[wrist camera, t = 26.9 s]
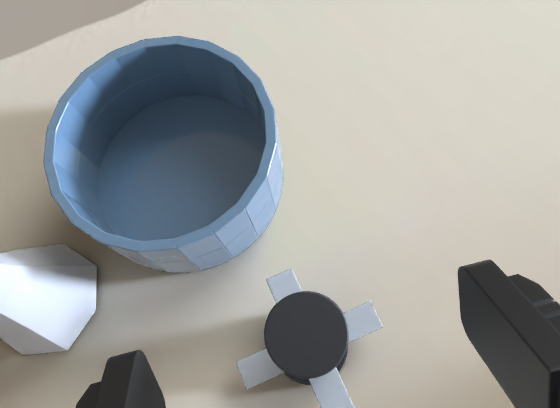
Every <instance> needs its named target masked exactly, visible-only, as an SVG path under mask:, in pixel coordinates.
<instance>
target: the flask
mask: <svg viewBox="0 0 560 408" xmlns="http://www.w3.org/2000/svg"><path fill="white" fill-rule="evenodd" d="M96 284H97V266H96V265H95V264H93V263H92V262H90V261H89V260H87V259H86V258H84V257H83V256H81V255H80V254H78V253H77V252H75V251H74V250H72V249H71V248H69V247H67V246H66V245H64V244H60V245H51V246H42V247H32V248H23V249H16V250H11V251H6V252H2V253H0V339H2V340H3V341H4V342H6V343H7V344H8V345H10V346H11V347H12V348H14V349H15V350H16V351H18V352H19V353H20V354H22V355H30V354H40V353H50V352H60V351H68V350H69V348H70V347H71V345H72V344H73V342H74V341H75V340H76V338H77V337H78V335H79V334H80V332H81V331H82V330H83V328H84V327H85V325H86V324H87V322H88V321H89V320H90V318H91V317H92V315H93V314H94V312H95V311H96Z"/></svg>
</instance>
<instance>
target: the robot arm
mask: <svg viewBox="0 0 560 408" xmlns="http://www.w3.org/2000/svg"><path fill="white" fill-rule="evenodd" d="M458 284H459V298H460V312H461V320H462V323H463V327H464V329H465V332H466V334H467V336H468V338H469V340H470V341H471V343H472V344H473V346H474V347H475V349H476V350H477V352H478V353H479V355H480V356H481V358H482V359H483V361H484V362H485V364H486V365H487V366H488V368H489V369H490V371H491V372H492V374H493V375H494V377H495V378H496V380H497V381H498V383H499V384H500V386H501V387H502V389H503V390H504V392H505V393H506V394H507V396H508V397H509V399H510V400H511V402H512V403H513V405H514V406H515V408H560V305H559V304H558V303H557V302H554V299H553V298H552V297H551V296H550V295H549V294H548V293H547V292H546V291H545V290H544V289H543V288H542V287H541V286H540V285H539V284H537V283H535V282H533V281H531V280H529V279H527V278H525V277H523V276H521V275H519V274H516V275H513V276H509V277H507V276H506V275H505V274H504V272H503V271H502V270H501V269H500V268H499V267H498V266H497V265H496V264H495V263H494V262H493V261H492V260H485V261H481V262H477V263H473V264H470V265H466V266H462V267H459V269H458ZM76 408H166V406H165V401H164V397H163V394H162V391H161V389H160V387H159V385H158V382H157V380H156V378H155V376H154V374H153V372H152V369H151V367H150V365H149V363H148V361H147V359H146V356H145V355H144V353H143V352H142V351H141V350H136V351H132V352H128V353H124V354H120V355H117V356H113V357H110V358H109V359H108V360H107V363H106V366H105V370H104V373H103V377H102V381H101V382H98V383H94V384H91V385H90V386H89V388H88V389H87V390H86V392H85V393H84V394H83V396H82V397H81V399H80V400H79V401H78V403H77V405H76Z"/></svg>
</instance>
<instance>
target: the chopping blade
mask: <svg viewBox="0 0 560 408" xmlns="http://www.w3.org/2000/svg"><path fill="white" fill-rule="evenodd" d="M267 283H268V285H269V287H270V290H271V292H272V294H273V297H274V299H275V301H276V305H275V306H274V307H273V308H272V310H271V311H270V313H269V315H268V317H267V320H266V323H265V329H264V340H265V346H266V349H264V350H261V351H259V352H257V353H255V354H253V355H250V356H248V357H246V358H244V359H242V360H239V361H237V362H236V363H237V365H238V368H239V371H240V373H241V376H242V378H243V381H244V384H245V386H246V389H250V388H252V387H254V386H256V385H258V384H261V383H263V382H265V381H267V380H269V379H271V378H274V377H276V376H278V375H280V374H282V373H284V374H285V375H286V376H287V377H289V378H290V379H292V380H293V381H295V382H298V383H301V384H305V385H311V386H312V388H313V390H314V393H315V395H316V397H317V400H318V402H319V404H320V407H321V408H354V406H353V404H352V401H351V399H350V397H349V395H348V392H347V390H346V388H345V386H344V384H343V381H342V379H341V377H340V375H339V371H340V370H341V368H342V367H343V365H344V363H345V360H346V357H347V351H348V343H350V342H352V341H354V340H356V339H358V338H360V337H363V336H365V335H367V334H369V333H371V332H373V331H376V330H378V329H380V328H382V327H383V325H382V323H381V321H380V319H379V317H378V315H377V313H376V311H375V309H374V307H373V305H372V303H371V301H369V302H367V303H364V304H362V305H360V306H358V307H356V308H353V309H351V310H349V311H347V312H345V313H343V312H342V311H341V309H340V308H339V307H338V305H337V304H336V303H335V302H333V301H332V300H331V299H330V298H328V297H326V296H324V295H322V294H320V293H316V292H310V291H302V290H301V288H300V286H299V283H298V281H297V279H296V277H295V274H294V272H293V270H292V268H291V269H289V270H287V271H284V272H282V273H280V274H278V275H275V276H273V277H271V278H269V279H267Z"/></svg>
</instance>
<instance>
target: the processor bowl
mask: <svg viewBox="0 0 560 408" xmlns="http://www.w3.org/2000/svg"><path fill="white" fill-rule="evenodd" d="M44 168H45V172H46V176H47V180H48V183H49V187H50V191H51V195H52V197H53V198H54V200H55V201H56V202H57V204H58V205H59V207H60V208H61V210H62V211H63V212H64V214H65V215H66V217H67V218H68V219H69V221H70V222H71V223H72V224H73V225H74V226H76V227H77V228H79V229H80V230H82V231H83V232H85V233H86V234H88V235H89V236H91V237H92V238H94V239H95V240H97V241H98V242H100V243H101V244H103V245H105V246H107V247H109V248H110V249H112V250H114V251H116V252H117V253H119V254H121V255H123V256H124V257H126V258H128V259H130V260H131V261H133V262H135V263H137V264H139V265H142V266H146V267H148V268H151V269H155V270H159V271H164V272H172V273H189V272H196V271H202V270H205V269H209V268H213V267H215V266H218V265H220V264H223V263H225V262H227V261H229V260H231V259H232V258H234V257H236V256H237V255H239V254H240V253H242V252H243V251H244V250H246V249H247V248H248V247H249V246H250V245H251V244H252V243H253V242H254V241H255V240H256V239H257V238H258V237H259V236H260V235H261V234H262V232H263V231H264V230H265V229H266V227H267V226H268V224H269V222H270V221H271V219H272V217H273V215H274V213H275V211H276V208H277V206H278V203H279V200H280V196H281V192H282V185H283V165H282V152H281V146H280V140H279V134H278V128H277V121H276V115H275V110H274V107H273V105H272V102H271V100H270V98H269V96H268V93H267V91H266V89H265V87H264V84H263V82H262V80H261V79H260V78H259V77H258V76H257V75H256V74H255V73H254V72H253V71H252V70H251V68H250V67H249V66H248V65H247V64H246V63H245V62H244V61H243V60H242V59H241V58H240V57H238V56H237V55H235V54H233V53H231V52H229V51H227V50H225V49H223V48H221V47H219V46H217V45H215V44H213V43H211V42H209V41H204V40H198V39H193V38H187V37H181V36H172V37H162V38H152V39H144V40H140V41H138V42H135V43H132V44H130V45H127V46H124V47H122V48H119V49H116V50H114V51H112V52H110V53H108V54H107V55H105V56H104V57H103V58H101V59H100V60H98V61H97V62H95V63H94V64H93V65H91V66H90V67H88V68H87V69H86V70H84V71H83V72H82V73H81V74H80V75H79V76H78V77H77V79H76V80H75V81H74V82H73V83H72V85H71V86H70V87H69V88H68V89H67V91H66V92H65V93H64V94H63V95H62V97H61V99H60V100H59V102H58V104H57V107H56V109H55V111H54V114H53V116H52V118H51V121H50V123H49V125H48V127H47V131H46V141H45V152H44Z"/></svg>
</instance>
